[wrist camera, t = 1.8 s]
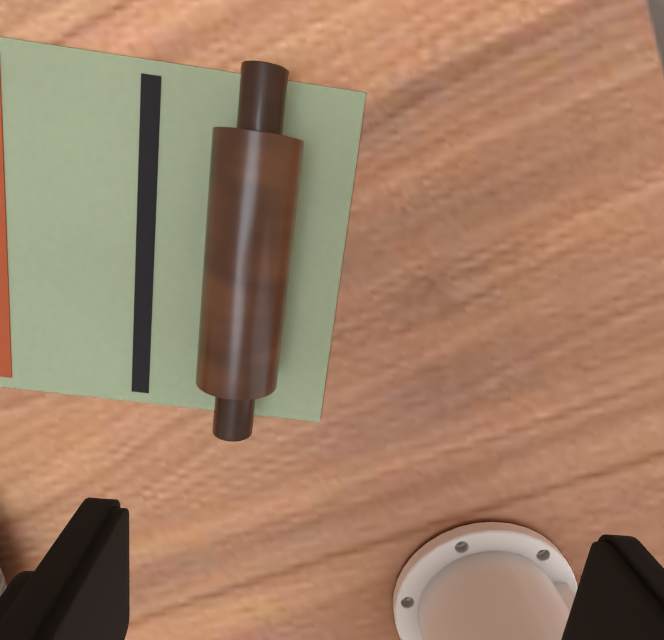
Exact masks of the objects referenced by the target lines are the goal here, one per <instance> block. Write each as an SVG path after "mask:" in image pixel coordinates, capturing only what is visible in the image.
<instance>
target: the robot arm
mask: <svg viewBox="0 0 664 640" xmlns="http://www.w3.org/2000/svg"><path fill="white" fill-rule="evenodd" d="M393 612H394V618H395V625H396V628H397V631H398V634H399V637H400V639H401V640H664V568H663V567H662V566H661V565H660V564H659V563H658V562H657V561H656V559H655V558H654V557H653V556H652V555H651V554H650V553H649V552H648V550H647V549H646V548H645V547H644V546H643V545H642V544H641V543H640V541H638V540H637V539H636V538H634V537H631V536H620V535H602V536H601V537H600V538H599V540H598V542H594V543H593V544H592V546H591V548H590V551H589V554H588V557H587V561H586V564H585V567H584V570H583V573H582V576H581V579H580V582H579V586H577V582H576V579H575V576H574V573H573V571H572V569H571V568H570V566H569V564H568V563H567V561H566V559H565V558H564V556H563V555H562V554H561V552H560V551H559V550H558V549H557V547H556V546H555V545H554V544H553V543H551V542H550V541H549V540H548V539H546V538H545V537H544V536H543V535H541V534H539V533H537V532H535V531H533V530H531V529H529V528H526V527H522V526H519V525H515V524H512V523H502V522H482V523H473V524H469V525H465V526H460V527H457V528H454V529H452V530H450V531H447V532H445V533H442V534H440V535H439V536H437V537H435V538H434V539H432V540H430V541H429V542H427V543H426V544H425V545H424V546H422V547H421V548H420V549H419V550H418V551H417V552H416V553H414V555H413V556H412V557H411V558H410V560H409V561H408V562H407V563H406V565H405V566H404V567H403V569H402V571H401V573H400V575H399V577H398V579H397V582H396V586H395V590H394V593H393ZM128 624H129V511H128V509H127V508H120V503H119V501H118V500H114V499H100V498H87V499H85V500H84V501H83V503H82V504H81V505H80V507H79V508H78V510H77V511H76V513H75V514H74V515H73V517H72V518H71V520H70V521H69V523H68V524H67V525H66V527H65V528H64V530H63V531H62V533H61V534H60V535H59V537H58V538H57V540H56V541H55V543H54V544H53V545H52V547H51V548H50V550H49V551H48V553H47V554H46V555H45V557H44V558H43V560H42V561H41V563H40V564H39V565H38V567H37V568H36V570H35V571H23V572H21V573H19V574H18V575H17V576H16V577H15V578H14V579H13V580H12V581H11V582H10V584H9V585H8V587H7V588H6V589H5V591H4V592H3V593H2V595H1V596H0V640H124V639H125V636H126V633H127V629H128Z"/></svg>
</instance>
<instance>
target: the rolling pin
mask: <svg viewBox="0 0 664 640" xmlns="http://www.w3.org/2000/svg"><path fill="white" fill-rule="evenodd" d="M288 75H289V71H288V70H287V69H286V68H284V67H282V66H279V65H276V64H272V63H268V62H262V61H244V62H242V65H241V77H240V90H239V103H238V115H237V128H234V127H213V129H212V144H211V159H210V174H209V189H208V204H207V219H206V234H205V249H204V264H203V279H202V294H201V309H200V324H199V339H198V353H197V368H196V385H197V387H198V388H199V389H200V390H201V391H203V392H205V393H207V394H209V395H211V396H214V397H215V407H214V419H213V434H214V435H215V436H216V437H217V438H219V439H221V440H225V441H241V440H245V439H247V438H248V437H250V436H251V434H252V428H253V418H254V408H255V399H259V398H263V397H266V396H268V395H270V394H272V393H273V392H274V391H275V390H276V387H277V380H278V371H279V362H280V353H281V344H282V336H283V327H284V318H285V309H286V300H287V292H288V283H289V274H290V265H291V257H292V248H293V239H294V230H295V221H296V213H297V204H298V195H299V186H300V177H301V169H302V160H303V151H304V141H303V140H300V139H297V138H294V137H289V136H285V135H282V134H283V124H284V114H285V105H286V95H287V85H288Z"/></svg>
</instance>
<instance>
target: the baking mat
mask: <svg viewBox="0 0 664 640" xmlns="http://www.w3.org/2000/svg"><path fill="white" fill-rule="evenodd" d="M240 77H241V74H240V73H234V72H227V71H221V70H214V69H208V68H201V67H195V66H188V65H181V64H175V63H168V62H162V61H155V60H149V59H142V58H135V57H129V56H122V55H116V54H109V53H103V52H96V51H90V50H83V49H76V48H70V47H63V46H57V45H50V44H44V43H37V42H30V41H24V40H17V39H11V38H4V37H0V387H8V388H17V389H26V390H35V391H44V392H53V393H62V394H71V395H80V396H89V397H98V398H107V399H116V400H125V401H133V402H142V403H151V404H160V405H169V406H178V407H187V408H196V409H205V410H214V407H215V397H214V396H211V395H209V394H207V393H205V392H203V391H201V390H200V389H199V388H198V387H197V385H196V368H197V353H198V339H199V324H200V309H201V294H202V279H203V264H204V249H205V234H206V219H207V204H208V189H209V174H210V159H211V144H212V129H213V127H234V128H237V115H238V103H239V90H240ZM365 98H366V93H365V92H359V91H352V90H345V89H339V88H332V87H326V86H319V85H313V84H306V83H300V82H293V81H288V85H287V95H286V105H285V114H284V124H283V134H282V135H285V136H289V137H294V138H297V139H300V140H303V141H304V151H303V160H302V169H301V177H300V186H299V195H298V204H297V213H296V221H295V230H294V239H293V248H292V257H291V265H290V274H289V283H288V292H287V300H286V309H285V318H284V327H283V336H282V344H281V353H280V362H279V371H278V380H277V387H276V390H275V391H274V392H273V393H272V394H270V395H268V396H266V397H263V398H259V399H255V408H254V415H259V416H268V417H277V418H286V419H295V420H304V421H313V422H320V417H321V410H322V403H323V396H324V389H325V381H326V374H327V367H328V360H329V353H330V346H331V339H332V332H333V325H334V318H335V311H336V304H337V297H338V290H339V282H340V275H341V268H342V261H343V254H344V247H345V240H346V233H347V226H348V219H349V212H350V205H351V198H352V190H353V183H354V176H355V169H356V162H357V155H358V148H359V141H360V134H361V127H362V120H363V113H364V106H365Z"/></svg>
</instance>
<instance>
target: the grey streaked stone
mask: <svg viewBox="0 0 664 640" xmlns="http://www.w3.org/2000/svg"><path fill="white" fill-rule="evenodd" d="M6 588H7V586H6V582H5V578H4V575H3V572H2V570H1V567H0V596H1V595H2V593H3V592H4V591H5V589H6Z"/></svg>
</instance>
